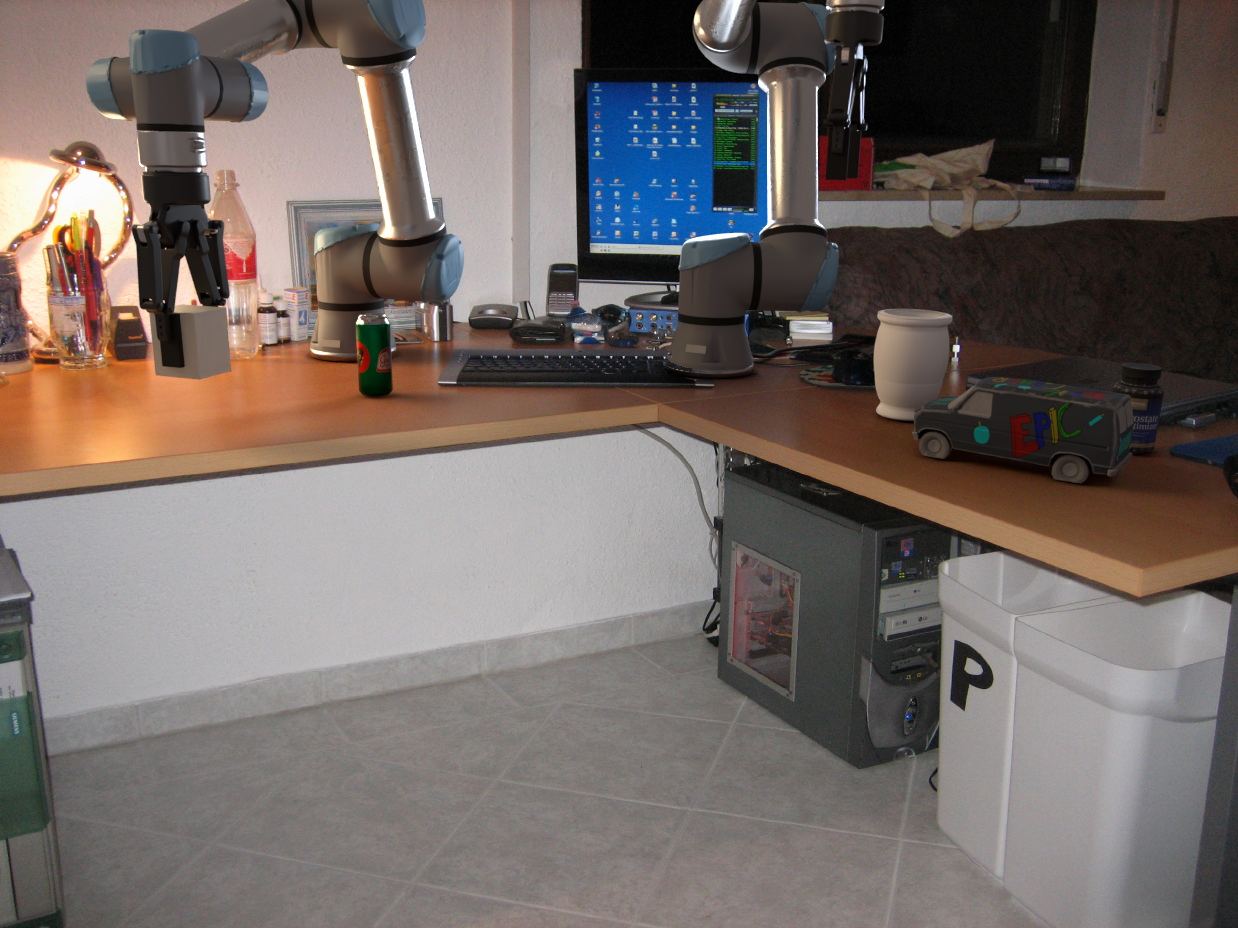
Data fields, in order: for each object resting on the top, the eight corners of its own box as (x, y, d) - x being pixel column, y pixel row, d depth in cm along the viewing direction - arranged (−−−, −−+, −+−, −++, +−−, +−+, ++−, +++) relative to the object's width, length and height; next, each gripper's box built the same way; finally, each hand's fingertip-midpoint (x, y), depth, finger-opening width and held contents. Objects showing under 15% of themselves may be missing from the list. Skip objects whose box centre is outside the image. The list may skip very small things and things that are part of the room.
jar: (854, 409, 159) (862, 309, 155) (910, 404, 163) (920, 306, 159) (898, 426, 150) (909, 320, 146) (957, 420, 154) (969, 317, 150)
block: (199, 379, 130) (193, 313, 128) (155, 375, 132) (148, 310, 130) (231, 371, 136) (226, 307, 133) (188, 367, 137) (182, 304, 135)
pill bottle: (1117, 454, 138) (1130, 370, 135) (1094, 442, 144) (1106, 361, 140) (1163, 454, 138) (1177, 370, 135) (1139, 442, 144) (1152, 361, 141)
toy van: (934, 436, 145) (942, 364, 142) (1131, 470, 131) (1144, 390, 128) (905, 453, 136) (913, 376, 134) (1112, 490, 123) (1125, 406, 120)
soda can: (384, 398, 160) (381, 318, 157) (353, 396, 161) (349, 317, 158) (398, 391, 165) (395, 314, 162) (367, 389, 166) (363, 312, 163)
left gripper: (143, 171, 117) (163, 378, 124) (251, 170, 135) (264, 352, 141) (88, 169, 119) (111, 373, 126) (201, 169, 137) (216, 347, 143)
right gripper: (875, -1, 128) (860, 181, 134) (891, 23, 151) (878, 178, 157) (812, 0, 131) (800, 180, 137) (837, 24, 153) (827, 177, 159)
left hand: (192, 361), depth 133 cm, fingers closed on block, 6 cm apart
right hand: (842, 179), depth 147 cm, fingers open, 13 cm apart
